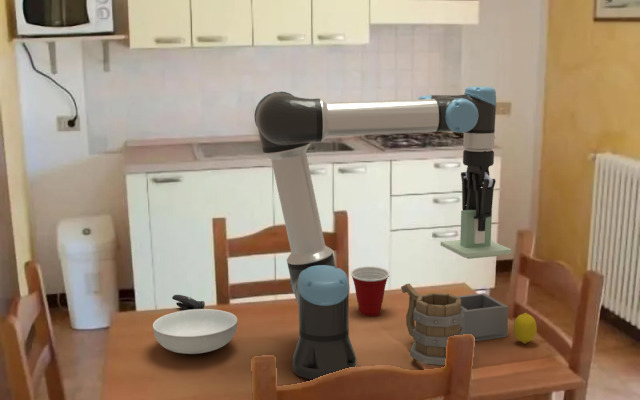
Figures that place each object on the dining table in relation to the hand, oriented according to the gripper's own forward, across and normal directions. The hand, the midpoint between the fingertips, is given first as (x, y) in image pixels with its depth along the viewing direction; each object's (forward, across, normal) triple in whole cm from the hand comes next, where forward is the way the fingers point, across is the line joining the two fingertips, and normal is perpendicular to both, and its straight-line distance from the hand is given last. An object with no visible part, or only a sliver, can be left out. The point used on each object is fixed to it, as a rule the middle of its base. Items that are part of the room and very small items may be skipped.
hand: (475, 241), depth 197 cm
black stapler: (+25, +40, +68) cm, 83 cm away
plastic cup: (+25, +23, +19) cm, 39 cm away
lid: (+3, 0, 0) cm, 3 cm away
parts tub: (+24, 0, -1) cm, 24 cm away
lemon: (+24, -12, -8) cm, 28 cm away
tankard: (+25, -8, +16) cm, 30 cm away
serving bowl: (+25, +14, +69) cm, 75 cm away
